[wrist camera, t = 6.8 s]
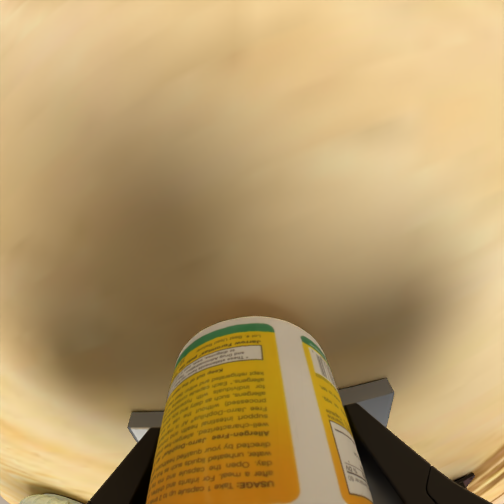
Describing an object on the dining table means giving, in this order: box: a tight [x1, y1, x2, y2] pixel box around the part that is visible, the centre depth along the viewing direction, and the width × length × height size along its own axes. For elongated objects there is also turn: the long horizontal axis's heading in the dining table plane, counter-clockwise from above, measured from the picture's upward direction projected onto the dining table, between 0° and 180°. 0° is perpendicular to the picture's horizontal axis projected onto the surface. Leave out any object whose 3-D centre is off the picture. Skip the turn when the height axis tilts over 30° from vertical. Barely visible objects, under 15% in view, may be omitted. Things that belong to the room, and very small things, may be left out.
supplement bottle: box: [146, 316, 374, 504], centre depth 7 cm, size 5×5×10 cm
